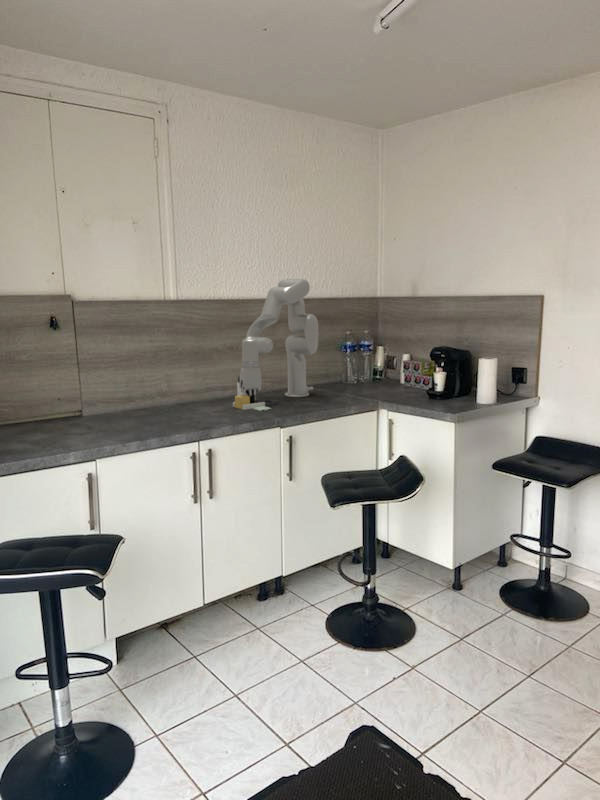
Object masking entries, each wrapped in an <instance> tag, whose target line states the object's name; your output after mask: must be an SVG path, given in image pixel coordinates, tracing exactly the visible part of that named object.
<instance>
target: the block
mask: <svg viewBox="0 0 600 800" xmlns="http://www.w3.org/2000/svg"><path fill="white" fill-rule="evenodd" d="M234 402H235V407H234V408H235V409H238V410H239V409H240V410H242V405H246V404H250V396H246V395H240V396H237V395H235V396H234Z"/></svg>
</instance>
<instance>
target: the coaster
mask: <svg viewBox="0 0 600 800" xmlns="http://www.w3.org/2000/svg"><path fill="white" fill-rule="evenodd" d="M269 409H270V410H272V407H269V406H260V407H253V408H252V409H251V410H255V411H257V410H258V411H257V412H263V411H262V410H264V411H270V410H269Z"/></svg>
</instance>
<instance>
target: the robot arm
mask: <svg viewBox="0 0 600 800" xmlns="http://www.w3.org/2000/svg"><path fill="white" fill-rule="evenodd" d="M310 287H311V286H310V282H309V281H308V280H307V279H305V278H286V279H285V278H284V279H282V280H279V282H278V284H277V286H274V287H271V288H269V290H268V292H267V296H266V298H265V301H264V303H263V308H262V311H261V313H260V316H258V317H257V318H256V319H255V320H254V322H253V323H252V324H251V325H250V326H249V328H248V330H247V333H246V335H245V336H246V337H245V338H244V339H242V341H241V350H242V351H241V353H242V355H241V357H242V359H241V361H242V362H241V363H242V367H241V368H240V372H239V373H240V374H239V376H240V388H241V392H244V393H246V394H247V395H248V396H250V404H252V403H256V395H257V392H259V391H261V390H262V385H263V384H262V383H263V380H262V372H261V368H260V365H261V362H260V361H259V354H268V353H270V352H271V351H272V350H273V349H274V342H273V340H272V339H270V338H269V337H262V336H260V334H261V332H262V331H263V330H264V329H266V328H268V327H269V326H272V325H273V324H276V323H277V322H278V321H279V318H280V315H281V314H280V313H281V311H282V308H283V305H287V308H288V309H287V311H288V312H287V313H288V314H287V318H288V320H287V324H288V330H290V331H291V332H292V333H293V332H295V333H304V334H290V335H289V336H288V337H287V338H286V339H285V342H284V343H285V345H284V346H285V351H286V357H287V358H286V359H287V392H285V393H284V396H285V397H288V398H305V397H308V396H310V393H309V391H313V390H314V387H313V386H307V361H306V358H305V356H304V355H314V354H315V353H316V352H317V351H318V347H319V321H318V319H317V317H316V316H315V315H314V314H313V313H306V310H305V309H306V307H305V301H304V297H305V298H306V296H307V295H308V294H309V293H310Z"/></svg>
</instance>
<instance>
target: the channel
mask: <svg viewBox="0 0 600 800" xmlns="http://www.w3.org/2000/svg"><path fill="white" fill-rule="evenodd" d="M260 406H265V402H259V403H256V402H255V403H252V404H246V405H242V409H241V410H242V411H245V410H253V409H252V408H253V407H260ZM232 407H233V408H235V401H233V402H232ZM265 407H266V406H265Z"/></svg>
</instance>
